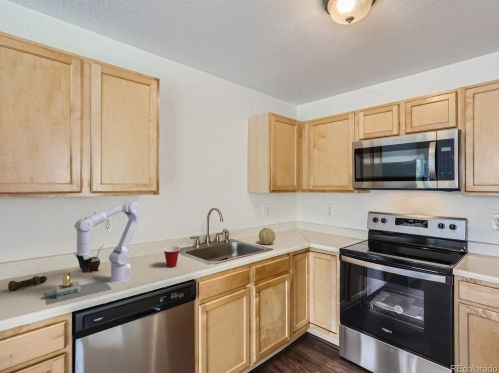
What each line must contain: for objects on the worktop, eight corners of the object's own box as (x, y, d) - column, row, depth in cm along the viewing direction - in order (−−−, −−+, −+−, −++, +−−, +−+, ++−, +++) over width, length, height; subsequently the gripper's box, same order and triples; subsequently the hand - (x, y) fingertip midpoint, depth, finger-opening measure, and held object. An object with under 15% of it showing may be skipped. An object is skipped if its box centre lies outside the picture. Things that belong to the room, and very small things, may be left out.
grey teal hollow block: (78, 288, 131) (78, 281, 131) (80, 293, 125) (80, 285, 125) (46, 295, 122) (46, 287, 122) (47, 301, 116) (47, 292, 116)
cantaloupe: (278, 245, 230) (278, 228, 230) (265, 247, 222) (265, 229, 222) (268, 241, 242) (268, 225, 242) (255, 243, 234) (255, 227, 234)
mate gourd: (83, 272, 155) (83, 247, 155) (93, 268, 163) (93, 244, 163) (95, 273, 154) (95, 248, 154) (104, 268, 162) (104, 245, 162)
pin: (69, 292, 126) (70, 271, 126) (70, 294, 124) (70, 273, 124) (62, 293, 124) (62, 272, 124) (62, 295, 122) (63, 274, 122)
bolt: (46, 285, 140) (10, 295, 127) (42, 279, 142) (6, 288, 129) (49, 277, 139) (13, 285, 126) (45, 271, 141) (9, 279, 128)
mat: (104, 281, 142) (104, 280, 142) (111, 290, 130) (111, 289, 130) (44, 293, 125) (44, 292, 125) (46, 306, 113) (46, 304, 113)
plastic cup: (160, 269, 163) (160, 250, 163) (165, 263, 174) (165, 245, 173) (177, 269, 163) (178, 250, 163) (181, 263, 174) (181, 246, 174)
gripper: (72, 241, 132) (72, 268, 132) (76, 247, 120) (76, 276, 121) (88, 239, 136) (88, 265, 136) (93, 245, 125) (93, 272, 125)
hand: (83, 270), depth 129 cm, fingers open, 7 cm apart
